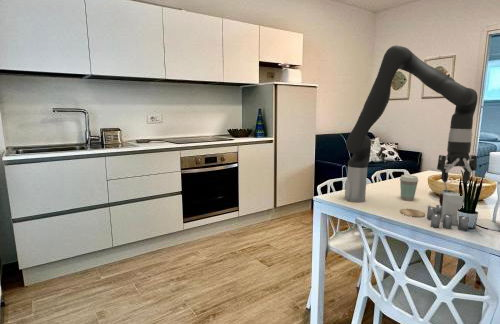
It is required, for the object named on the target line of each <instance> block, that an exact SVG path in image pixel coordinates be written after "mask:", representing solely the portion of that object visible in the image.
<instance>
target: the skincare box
mask: <svg viewBox="0 0 500 324" xmlns="http://www.w3.org/2000/svg"><path fill="white" fill-rule="evenodd" d="M460 194H461V193H457V194H453V193H443V204H442V214H441V218H440V222H441V223H443V215H444V214H449V215H452V216H453V217H452V225H453V226H454V225H455V226H458V220H457V210H458V209H459V210H460V209H461V208H462V206H463V207H464V200H465V199H464V198H465V197H464V195H462V196H460Z"/></svg>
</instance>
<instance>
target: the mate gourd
mask: <svg viewBox="0 0 500 324" xmlns="http://www.w3.org/2000/svg"><path fill="white" fill-rule="evenodd" d="M439 176H440V177H441V176H442V174H441V173H440V174H439ZM443 183H444V187H445V189H443V190H441V191H440V194H439V205H442V204H443V193H453V194H458V193H457V192H456V191H455V190H450V189H448V187H447V182H444V181H443Z"/></svg>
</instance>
